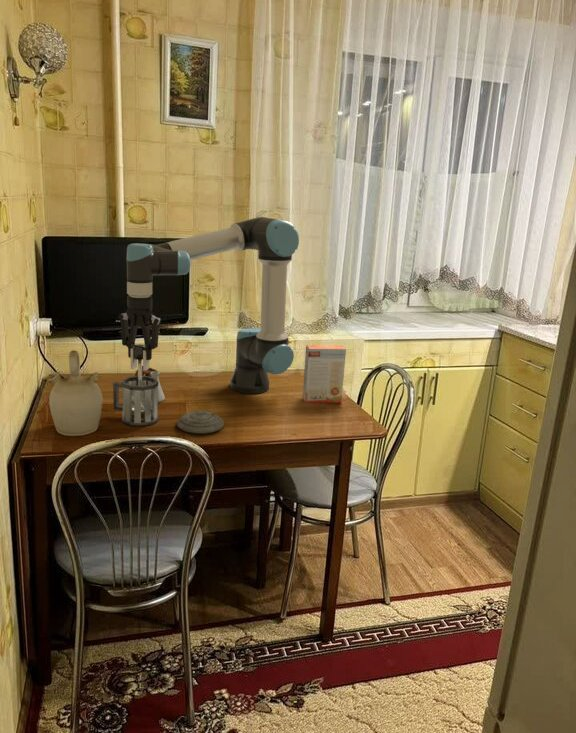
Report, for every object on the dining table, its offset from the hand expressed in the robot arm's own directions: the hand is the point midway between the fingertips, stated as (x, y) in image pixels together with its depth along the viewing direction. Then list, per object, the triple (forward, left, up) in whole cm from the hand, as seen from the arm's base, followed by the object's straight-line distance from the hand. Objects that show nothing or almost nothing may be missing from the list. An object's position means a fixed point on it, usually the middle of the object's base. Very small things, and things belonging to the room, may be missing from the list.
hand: (140, 368), depth 191 cm
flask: (+4, -19, -18) cm, 26 cm away
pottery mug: (+14, -32, -18) cm, 39 cm away
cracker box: (-52, -43, -18) cm, 70 cm away
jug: (+14, +14, -18) cm, 27 cm away
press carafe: (+2, 0, -17) cm, 18 cm away
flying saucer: (-20, -2, -18) cm, 27 cm away
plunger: (0, 0, -13) cm, 13 cm away
